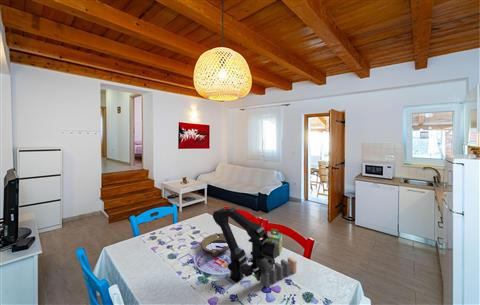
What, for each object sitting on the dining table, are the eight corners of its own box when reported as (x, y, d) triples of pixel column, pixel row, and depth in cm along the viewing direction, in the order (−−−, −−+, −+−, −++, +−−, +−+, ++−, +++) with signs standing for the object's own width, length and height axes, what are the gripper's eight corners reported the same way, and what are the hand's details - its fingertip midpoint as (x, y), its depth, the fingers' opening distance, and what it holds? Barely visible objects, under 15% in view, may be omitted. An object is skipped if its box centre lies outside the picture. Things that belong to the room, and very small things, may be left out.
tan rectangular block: (294, 273, 117) (294, 261, 116) (287, 269, 121) (287, 257, 120) (296, 272, 118) (296, 260, 117) (289, 268, 122) (289, 256, 121)
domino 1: (266, 287, 106) (266, 274, 106) (260, 282, 110) (260, 269, 110) (269, 286, 107) (269, 273, 107) (263, 281, 111) (263, 268, 111)
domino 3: (280, 280, 112) (280, 267, 111) (274, 275, 116) (274, 263, 115) (283, 278, 113) (283, 266, 112) (276, 273, 117) (276, 262, 116)
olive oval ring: (238, 242, 152) (238, 232, 152) (219, 266, 125) (219, 254, 124) (212, 237, 161) (211, 228, 160) (188, 258, 133) (188, 247, 132)
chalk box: (265, 253, 138) (265, 231, 137) (269, 246, 146) (269, 226, 145) (279, 256, 134) (279, 234, 133) (282, 249, 143) (282, 228, 142)
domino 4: (287, 276, 114) (287, 264, 114) (280, 271, 119) (280, 260, 118) (289, 275, 115) (289, 263, 115) (283, 270, 120) (283, 259, 119)
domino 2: (274, 283, 109) (273, 271, 108) (267, 278, 113) (267, 266, 113) (276, 282, 110) (276, 270, 109) (270, 277, 114) (270, 265, 114)
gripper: (252, 265, 93) (252, 298, 94) (282, 252, 103) (282, 282, 104) (239, 254, 102) (239, 284, 103) (267, 243, 112) (267, 270, 114)
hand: (258, 280), depth 106 cm, fingers closed
